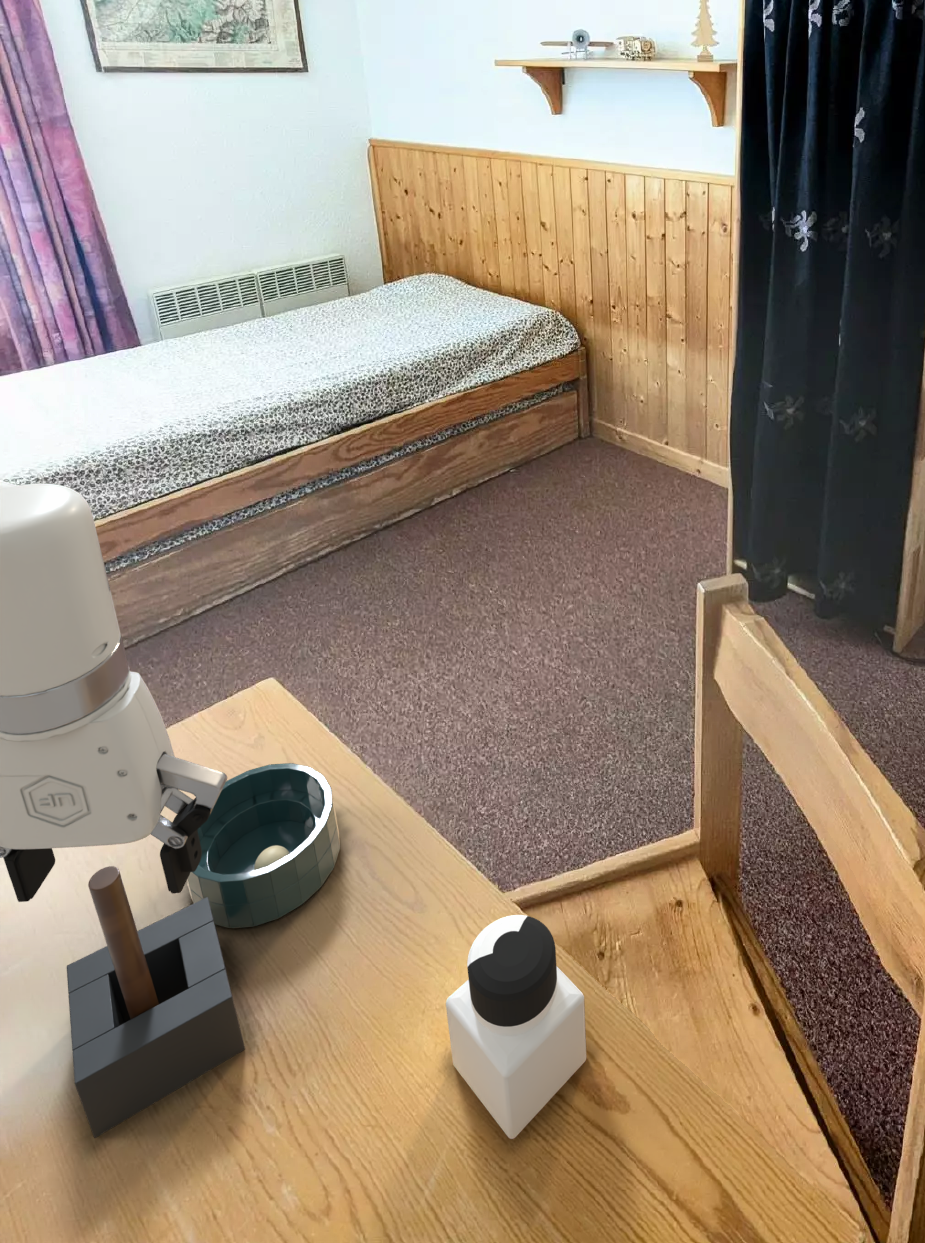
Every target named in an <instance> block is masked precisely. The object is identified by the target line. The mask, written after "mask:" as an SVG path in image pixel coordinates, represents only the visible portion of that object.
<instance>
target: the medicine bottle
mask: <svg viewBox="0 0 925 1243" xmlns="http://www.w3.org/2000/svg"><path fill="white" fill-rule="evenodd" d="M470 946H471V947H470V949H469V952H468V956H467V962H466V963H467V965H466V966H467V967H466V968H467V978H468V979H467V980H465V982H463V984H461V986H459V987H458V988H457V989H456V990H455V991H453V992H452V994H450V995H449V996H448V997H447V999H446V1001H445V1008H446V1009H445V1010H446V1016H447V1017H446V1018H447V1024H448V1025H447V1026H448V1032H449V1033H448V1034H449V1043H450V1050H451V1059H452V1066H453V1067H454V1068H455V1070H456V1071H457V1072H458V1074H459V1075H460V1076H461V1077H462V1079H463V1081H465V1082H466V1084H467V1085H468V1087H469V1088H470V1089H471V1091H472V1092H473V1093H474V1095H475V1096H476V1097H477V1099H478V1100H479V1101H480V1103H482V1105H483V1106H484V1107H485V1109H486V1110H487V1111H488V1113H489V1114H490V1115H491V1117H492V1118H493V1119H494V1121H495V1122H496V1123H497V1125H498V1126H499V1127H500V1129H501V1130H502V1131H503V1132H504V1134H505V1135H506V1137H507V1138H508V1139H510V1140H514V1139H516V1138H517V1137H518V1135H520V1133H521V1132H522V1131H523V1130H524V1129H525V1128H526V1126H528V1125H529V1123H530V1122H531V1121H533V1119H534V1118H535V1117H536V1116H537V1114H538V1113H539V1112H540V1111H541V1110H542V1109H543V1108H544V1107H545V1106H546V1105H547V1104H548V1103H549V1102H550V1100H551V1099H552V1098H553V1097H554V1096H556V1094H557V1093H558V1092H559V1091H560V1089H562V1087H563V1086H564V1085H565V1084H566V1083H567V1082H568V1081H569V1080H570V1079H571V1077H573V1075H574V1074H575V1073H576V1072H577V1071H578V1070H579V1069H580V1068H581V1066H583V1064H584V1063H585V1062H586V1060H587V1034H586V1032H587V1031H586V1009H585V1008H586V1007H585V1006H586V1005H585V995H584V993H583V992H582V991H581V990H580V989H579V988H578V987H577V986H576V984H575V983H574V982H573V981H572V980H571V979H570V978H569V977H568V976H567V975H566V974H565V973H564V972H563V971H562V970H561V969H560V968H559V966H557V951H556V950H557V949H556V942H555V938H554V936H553V934H552V932H551V931H550V929H549V928H548V927H547V926H546V925H545V924H544V923H543V922H542V921H541V920H539V919H537V918H535V917H532V916H530V915H526V914H525V915H524V914H512V915H511V914H510V915H507V916H503V917H500V918H498V919H496V920H494V921H493V922H491V923H490V924H488V925H487V926H486V927H484V928H483V929H482V930H481V931H480V932H479V933H478V935H477V936H476V938H475V939H474V941H473V942H472V944H471V945H470Z"/></svg>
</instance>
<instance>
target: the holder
mask: <svg viewBox="0 0 925 1243" xmlns="http://www.w3.org/2000/svg"><path fill="white" fill-rule="evenodd" d="M216 926H217V925H215V922H214V918H213V914H212V910H211V906H210V902H209V898H208V897H206V898H204V899H202V900H200V901H198V902H196V903H194V904H193V903H192V904H190V905H187V906H186V907H184V908H182V909H179V910H177V911H176V912H174V913H171V914H169V915H168V916H165V917H163V918H161V919H159V920H157V921H155V922H153V923H151V924H149V925H147V926H145V927H143V928H141V929H138V930H137V932H138V935H139V938H140V942H141V945H142V948H143V952H144V955H145V959H146V962H147V965H148V969H149V972H150V975H151V979H152V982H153V985H154V989H155V992H156V996H157V999H158V1002H159V1005H157V1006H155V1007H153V1008H151V1009H150V1010H148V1011H146V1012H144V1013H142V1014H140V1015H138V1016H137V1017H135V1018H133V1019H130V1016H129V1013H128V1010H127V1007H126V1004H125V1000H124V997H123V994H122V991H121V988H120V985H119V981H118V978H117V975H116V972H115V969H114V966H113V962H112V959H111V956H110V953H109V950H108V947H107V945H106V946H104V947H102V948H100V949H98V950H96V951H93V952H92V953H89V954H88V955H86V956H84V957H81V958H80V959H77V960H75V961H73V962H71V963H69V964H67V965H66V978H67V994H68V1011H69V1022H70V1038H71V1051H72V1065H73V1066H72V1067H73V1079H74V1080H73V1081H74V1086H75V1089H76V1092H77V1094H78V1097H79V1100H80V1103H81V1106H82V1108H83V1111H84V1113H85V1116H86V1119H87V1122H88V1125H89V1128H90V1130H91V1133H92V1136H93V1138H94V1139H96V1138H98V1137H99V1136H101V1135H102V1134H104V1133H106V1132H108V1131H110V1130H111V1129H113V1128H114V1127H116V1126H118V1125H120V1124H122V1123H123V1122H125V1121H126V1120H129V1119H130V1118H132V1117H133V1116H135V1115H136V1114H138V1113H140V1112H142V1111H143V1110H145V1109H146V1108H148V1107H150V1106H152V1105H154V1104H155V1103H157V1102H159V1101H161V1100H162V1099H164V1098H166V1097H167V1096H169V1095H170V1094H172V1093H174V1092H176V1091H177V1090H179V1089H180V1088H182V1087H184V1086H186V1085H187V1084H189V1083H191V1082H192V1081H194V1080H196V1079H197V1078H199V1077H202V1075H205V1074H206V1073H208V1072H210V1071H211V1070H213V1069H214V1068H216V1067H218V1066H219V1065H221V1064H223V1063H224V1062H226V1061H228V1060H230V1059H231V1058H233V1057H235V1056H237V1055H238V1054H240V1053H241V1052H244V1051H245V1050H246V1046H245V1041H244V1038H243V1034H242V1030H241V1026H240V1022H239V1017H238V1014H237V1009H236V1005H235V1000H234V997H233V992H232V989H231V984H230V980H229V976H228V975H229V974H228V971H227V967H226V964H225V959H224V956H223V951H222V947H221V943H220V938H219V935H218V931H217V927H216Z"/></svg>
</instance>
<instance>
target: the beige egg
mask: <svg viewBox="0 0 925 1243" xmlns="http://www.w3.org/2000/svg"><path fill="white" fill-rule="evenodd" d="M289 854H290V853H289V851H288V850H287V849H286V848H284V847H282V846H271V847H268V848H267V849H265V850H264V851H263V852H261V854H260V855H259V856H258V858H257V860H256V862H255V867H254V870H257V869H260V868H263V867H266V866H269V865H271V864H272V863H274V862H276V861H278V860H280V859H281V858H283V857H285V856H287V855H289Z"/></svg>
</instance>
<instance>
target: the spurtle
mask: <svg viewBox="0 0 925 1243" xmlns="http://www.w3.org/2000/svg"><path fill="white" fill-rule="evenodd" d="M124 884H125V883H124V882H123V878H122V874H121V872H120V869H119V867H117V866H114V865H111V866H110V865H109V866H105V867H102V868H100V869H99V870H97V871H96V872H95V873H94V874H93V875H92V876H91V877H90V878H89V881H88V884H87V886H88V890H89V893H90V896H91V900H92V903H93V906H94V909H95V911H96V915H97V918H98V921H99V925H100V928H101V930H102V934H103V936H104V940H105V943H106V946H107V947H108V950H109V953H110V956H111V959H112V962H113V966H114V969H115V972H116V975H117V978H118V981H119V985H120V988H121V991H122V994H123V997H124V1000H125V1004H126V1007H127V1010H128V1013H129V1016H130V1019H133V1018H135V1017H137V1016H138V1015H140V1014H142V1013H144V1012H146V1011H148V1010H150V1009H151V1008H153V1007H155V1006H157V1005H159V1002H158V999H157V996H156V992H155V989H154V985H153V982H152V979H151V975H150V972H149V969H148V965H147V962H146V959H145V955H144V952H143V948H142V945H141V942H140V938H139V935H138V932H137V931H138V929H137V926H136V922H135V919H134V915H133V911H132V908H131V905H130V901H129V897H128V895H127V892H126V888H125V885H124Z"/></svg>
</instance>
